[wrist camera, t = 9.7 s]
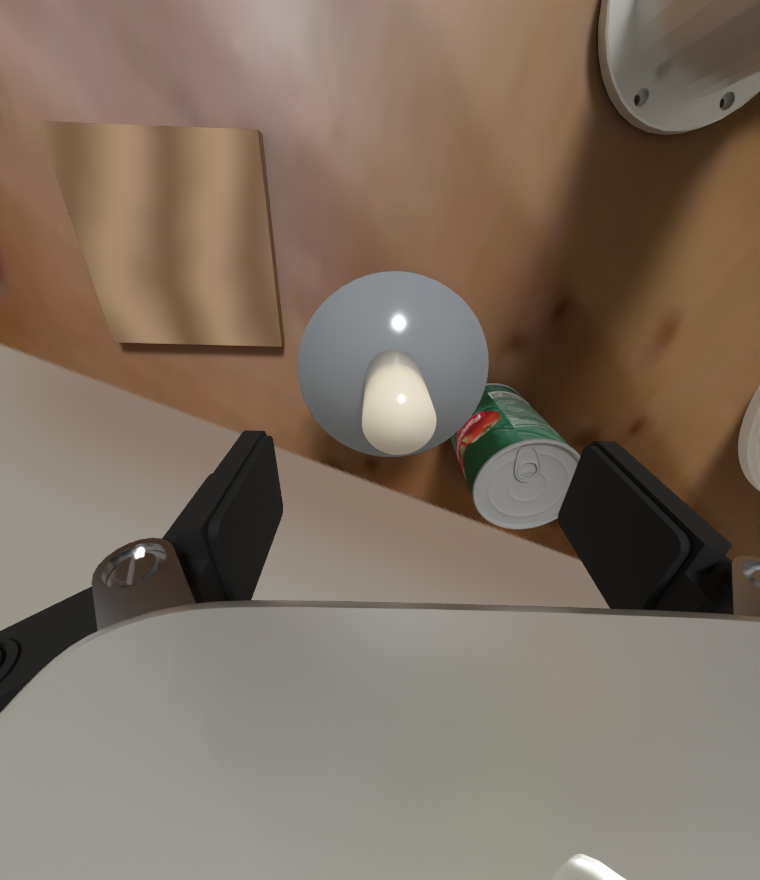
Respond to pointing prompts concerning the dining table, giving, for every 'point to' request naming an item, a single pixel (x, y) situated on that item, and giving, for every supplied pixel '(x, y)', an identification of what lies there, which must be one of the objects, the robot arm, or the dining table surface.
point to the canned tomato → (513, 461)
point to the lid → (393, 364)
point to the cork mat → (173, 230)
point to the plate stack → (751, 441)
